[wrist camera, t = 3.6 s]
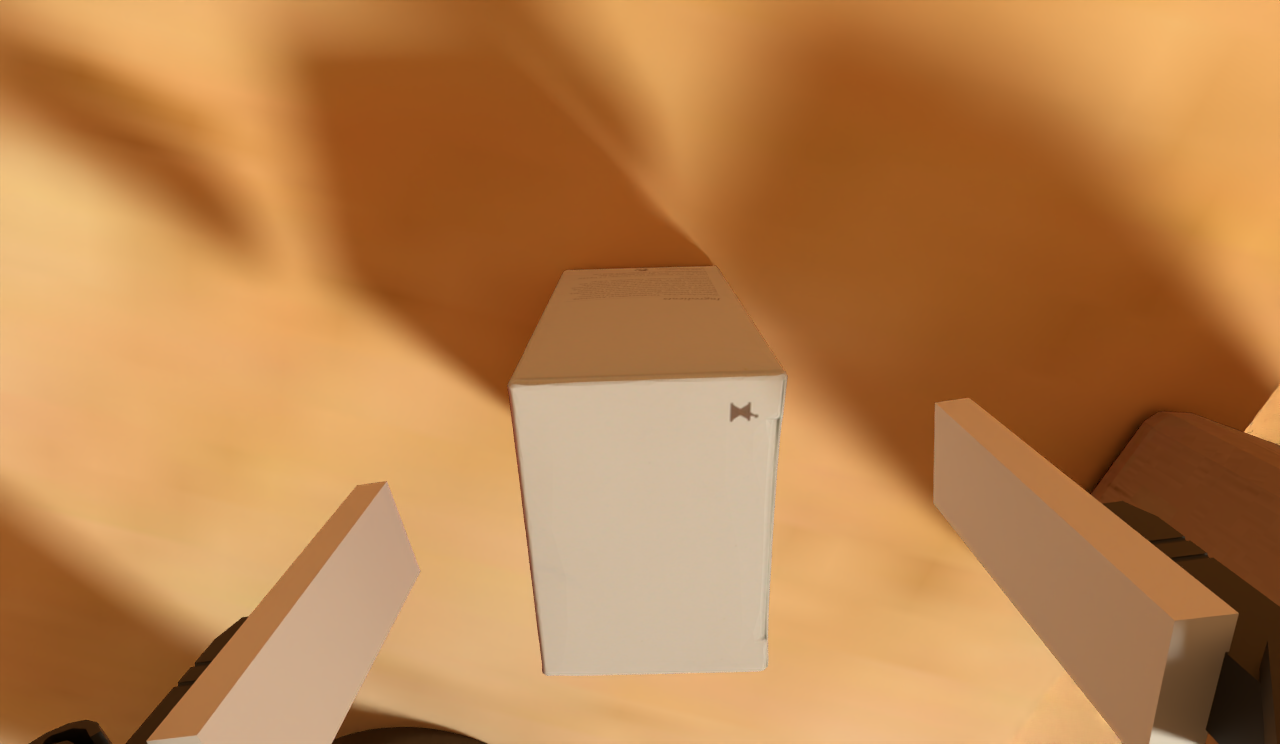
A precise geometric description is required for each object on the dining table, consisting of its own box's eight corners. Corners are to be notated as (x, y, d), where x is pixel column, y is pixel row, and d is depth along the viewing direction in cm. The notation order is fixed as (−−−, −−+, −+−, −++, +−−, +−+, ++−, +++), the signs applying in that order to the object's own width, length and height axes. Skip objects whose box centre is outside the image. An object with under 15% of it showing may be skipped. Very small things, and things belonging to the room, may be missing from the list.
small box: (563, 266, 21) (500, 373, 11) (720, 262, 21) (793, 365, 11) (577, 464, 24) (536, 685, 14) (715, 460, 24) (770, 679, 14)
